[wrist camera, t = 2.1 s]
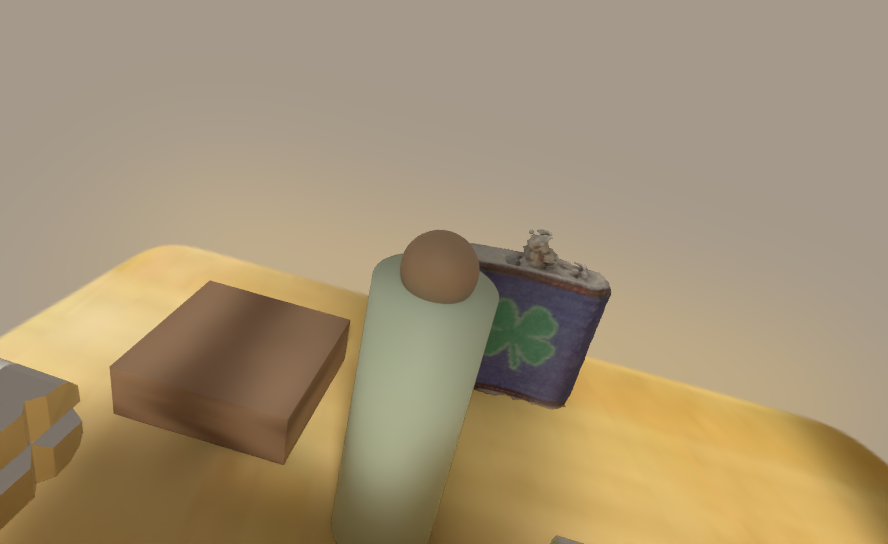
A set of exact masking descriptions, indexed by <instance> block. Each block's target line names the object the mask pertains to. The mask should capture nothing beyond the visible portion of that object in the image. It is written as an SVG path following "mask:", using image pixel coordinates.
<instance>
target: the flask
mask: <svg viewBox="0 0 888 544" xmlns="http://www.w3.org/2000/svg"><path fill="white" fill-rule="evenodd" d="M537 231H538V232H539V233H540V234H541V235H535V234H533V233H534V231H533V230H530V231H529V233H530V234H533V235H532V236H531V238H530V239H529V240H527V242H528V245H526V246H523V248H524V252H518V251H513V250H509V249H502V248H497V247H490V246H486V245H479V244H472V243H471V244H470V243H469V244H470V245H471V246H472V247H473V249H474V251H475V252H476V255H477V257H478V261H479V271H480V272H482V273H483V274H484V275H486V276H487V277H488V278H489V279H490V280H491V281H492V282H493V284H494V285H495V287H496V288H497V291H498V293H499V302H498V306H497V309H496V313H495V316H494V320H493V323H492V326H491V330H490V333H489V337H488V340H487V343H486V347H485V350H484V354H483V357H482V361H481V364H480V367H479V371H478V374H477V378H476V381H475V385H474V388H473V389H476V390H478V391H480V392H484V393H486V394H492V395H498V394H499V395H504V394H506V395H509V396H511V397H512V399H513V400H515V399H523V400H526V401H528V402H530V403H531V404H532V405H533V404H537V405H541V406H544V407H547V408H549V409H557V408H559V407H560V408H561V407H566V406H565V405H564V404H565V402H566V400H567V399H568V397H569V396H570V394H571V391H572V389H573V386H574V384H575V381H576V379H577V377H578V374H579V371H580V368H581V366H582V364H583V362H584V360H585V356H586V353H587V351H588V348H589V345H590V343H591V341H592V339H593V337H594V334H595V331H596V328H597V326H598V324H599V322H600V319H601V317H602V314H603V312H604V308H605V306H606V304H607V302H608V299H609V297H610V295H611V289H610V286H609V283H608V282H607V281H606V280H605V278H604V276H602V275H601V274H600V273H598V272H594V271H591V270H588V269H587V267H586V265H583V264H580V263H576V262H575V264H577V265H578V266H580V268H579V267H577V266H574V265H572V264H571V263H569V262H567V261H564V260H561V259H559V258H558V255H557V254H556V253H555V252H554V251H553V249H551V248H549V245H548V241H549V240H550V239H552V237H549V236H552V233H551V232H549V231H545V230H537ZM542 235H549V236H542Z"/></svg>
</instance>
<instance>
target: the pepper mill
mask: <svg viewBox="0 0 888 544" xmlns="http://www.w3.org/2000/svg"><path fill="white" fill-rule="evenodd" d="M498 302H499V293H498V291H497V288H496V287H495V285H494V284H493V282H492V281H491V280H490V279H489V278H488V277H487V276H486V275H484V274H483V273H482V272H480V271H479V261H478V257H477V255H476V252H475V251H474V249H473V247H472V246H471V245H470V244H469V243H468V241H467V240H465V239H464V238H463V237H461V236H460V235H458V234H456V233H453V232H450V231H445V230H435V231H429V232H427V233H424V234H422V235H420V236H418V237H417V238H415V239H414V240H413V241H412V242H411V243H410V244H409V245H408V247H407V248H406V250H405V252H404V254H398V255H394V256H391V257H389V258H386V259H384V260H382V261H381V262H380V263H379V264H377V266H376V267H375V269H374V271H373V275H372V281H371V287H370V293H369V299H368V305H367V311H366V317H365V323H364V329H363V335H362V341H361V347H360V353H359V359H358V365H357V371H356V377H355V383H354V389H353V395H352V401H351V407H350V413H349V419H348V425H347V431H346V437H345V443H344V449H343V455H342V461H341V467H340V473H339V479H338V485H337V491H336V497H335V503H334V509H333V515H332V531H333V535H334V538H335V540H336V542H337V544H428V541H429V538H430V535H431V532H432V528H433V525H434V521H435V518H436V514H437V511H438V508H439V504H440V501H441V497H442V494H443V491H444V487H445V484H446V480H447V477H448V473H449V470H450V467H451V463H452V460H453V456H454V453H455V450H456V446H457V443H458V439H459V436H460V432H461V429H462V426H463V422H464V419H465V415H466V412H467V408H468V405H469V402H470V398H471V395H472V391H473V388H474V385H475V381H476V378H477V374H478V371H479V367H480V364H481V361H482V357H483V354H484V350H485V347H486V343H487V340H488V337H489V333H490V330H491V326H492V323H493V320H494V316H495V313H496V309H497V306H498Z"/></svg>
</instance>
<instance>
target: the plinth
mask: <svg viewBox="0 0 888 544" xmlns="http://www.w3.org/2000/svg"><path fill="white" fill-rule="evenodd" d="M349 326H350V320H348V319H344V318H341V317H337V316H334V315H330V314H327V313H323V312H320V311H316V310H313V309H309V308H305V307H302V306H298V305H295V304H291V303H288V302H284V301H281V300H277V299H274V298H270V297H267V296H263V295H259V294H256V293H252V292H249V291H245V290H242V289H238V288H235V287H231V286H228V285H224V284H220V283H217V282H213V281H209V282H208V283H206V284H205V285H204V286H203V287H202V288H201V289H199V290H198V291H197V292H196V293H195V294H194V295H193V296H191V297H190V298H189V299H188V300H187V301H186V302H184V303H183V304H182V305H181V306H180V307H179V308H177V309H176V310H175V311H174V312H173V313H172V314H170V315H169V316H168V317H167V318H166V319H165V320H163V321H162V322H161V323H160V324H159V325H158V326H156V327H155V328H154V329H153V330H152V331H151V332H149V333H148V334H147V335H146V336H145V337H144V338H142V339H141V340H140V341H139V342H138V343H137V344H135V345H134V346H133V347H132V348H131V349H130V350H129V351H127V352H126V353H125V354H124V355H123V356H122V357H120V358H119V359H118V360H117V361H116V362H115V363H113V364H112V365H111V366H110V376H111V387H112V398H113V410H114V414H117V415H121V416H124V417H127V418H131V419H134V420H137V421H140V422H144V423H147V424H150V425H154V426H157V427H160V428H164V429H167V430H170V431H174V432H177V433H180V434H183V435H187V436H190V437H193V438H197V439H200V440H203V441H207V442H210V443H213V444H216V445H220V446H223V447H226V448H230V449H233V450H236V451H240V452H243V453H246V454H250V455H253V456H256V457H259V458H263V459H266V460H269V461H273V462H276V463H279V464H284V463H285V461H286V459H287V458H288V456H289V454H290V452H291V451H292V449H293V447H294V445H295V444H296V442H297V440H298V439H299V437H300V435H301V433H302V432H303V430H304V428H305V427H306V425H307V423H308V421H309V420H310V418H311V416H312V414H313V413H314V411H315V409H316V408H317V406H318V404H319V402H320V401H321V399H322V397H323V395H324V394H325V392H326V390H327V389H328V387H329V385H330V383H331V382H332V380H333V378H334V376H335V375H336V373H337V371H338V370H339V368H340V366H341V364H342V363H343V361H344V358H345V352H346V345H347V339H348V332H349Z"/></svg>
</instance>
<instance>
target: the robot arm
mask: <svg viewBox="0 0 888 544" xmlns="http://www.w3.org/2000/svg"><path fill="white" fill-rule="evenodd" d="M79 402H80V396H79V390H78V385H75V384H73V383H71V382H68V381H66V380H63V379H60V378H57V377H54V376H51V375H48V374H45V373H43V372H40V371H37V370H34V369H31V368H28V367H25V366H22V365H20V364H16V363H13V362H10V361H7V360H4V359H1V358H0V530H1V529H2V528H3V527H4V526H5V525H6V524H7V523H8V522H9V521H10V520H11V519H12V518H13V517H14V516H15V515H16V514H18V513H19V512H20V511H21V510H22V509H23V508H24V507H25V506H26V505H27V504H28V503H29V502H30V501H31V500H32V499H33V498H34V497H35V491H36V484H37V483H39V482H42V481H45V480H47V479H50V478H52V477H55V476H57V475H58V474H59V473H60V472H61V471H62V470H63V469H64V468H65V467H66V466H67V465H68V464H69V463H70V461H71V459H72V458H73V456H74V454H75V453H76V451H77V449H78V448H79V446H80V442H81V438H82V434H83V428H82V420H81V419H80V418H79V416H78V415H77V414H76V412H75V411H74V409H73V407H74V406H75V405H77V404H78V403H79ZM550 544H583V543H580V542H577V541H574V540H570V539H567V538H564V537H560V536H557V535H556V536H555V537H554V538H553V539H552V541H551V543H550Z"/></svg>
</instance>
